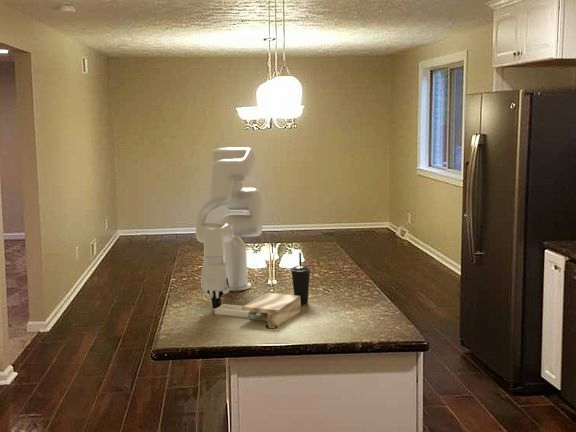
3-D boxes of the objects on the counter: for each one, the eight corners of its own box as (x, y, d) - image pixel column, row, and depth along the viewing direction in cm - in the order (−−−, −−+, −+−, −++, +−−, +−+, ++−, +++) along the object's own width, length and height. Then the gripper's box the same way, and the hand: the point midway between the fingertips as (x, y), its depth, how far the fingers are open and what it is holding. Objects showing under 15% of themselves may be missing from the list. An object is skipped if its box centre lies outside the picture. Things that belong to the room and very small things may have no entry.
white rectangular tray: (215, 314, 267) (214, 308, 267) (224, 309, 274) (224, 304, 273) (248, 317, 262) (248, 312, 261) (257, 312, 268) (256, 307, 268)
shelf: (242, 322, 256) (241, 306, 255) (267, 307, 274) (266, 292, 273) (278, 326, 250) (277, 310, 249) (300, 311, 268) (300, 295, 267)
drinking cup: (299, 299, 284) (298, 250, 281) (315, 302, 279) (314, 252, 276) (287, 304, 278) (286, 253, 275) (303, 307, 273) (301, 255, 270)
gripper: (192, 260, 268) (194, 308, 271) (227, 263, 262) (229, 312, 264) (202, 256, 275) (204, 303, 277) (237, 259, 268) (238, 306, 271)
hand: (216, 307), depth 271 cm, fingers closed
